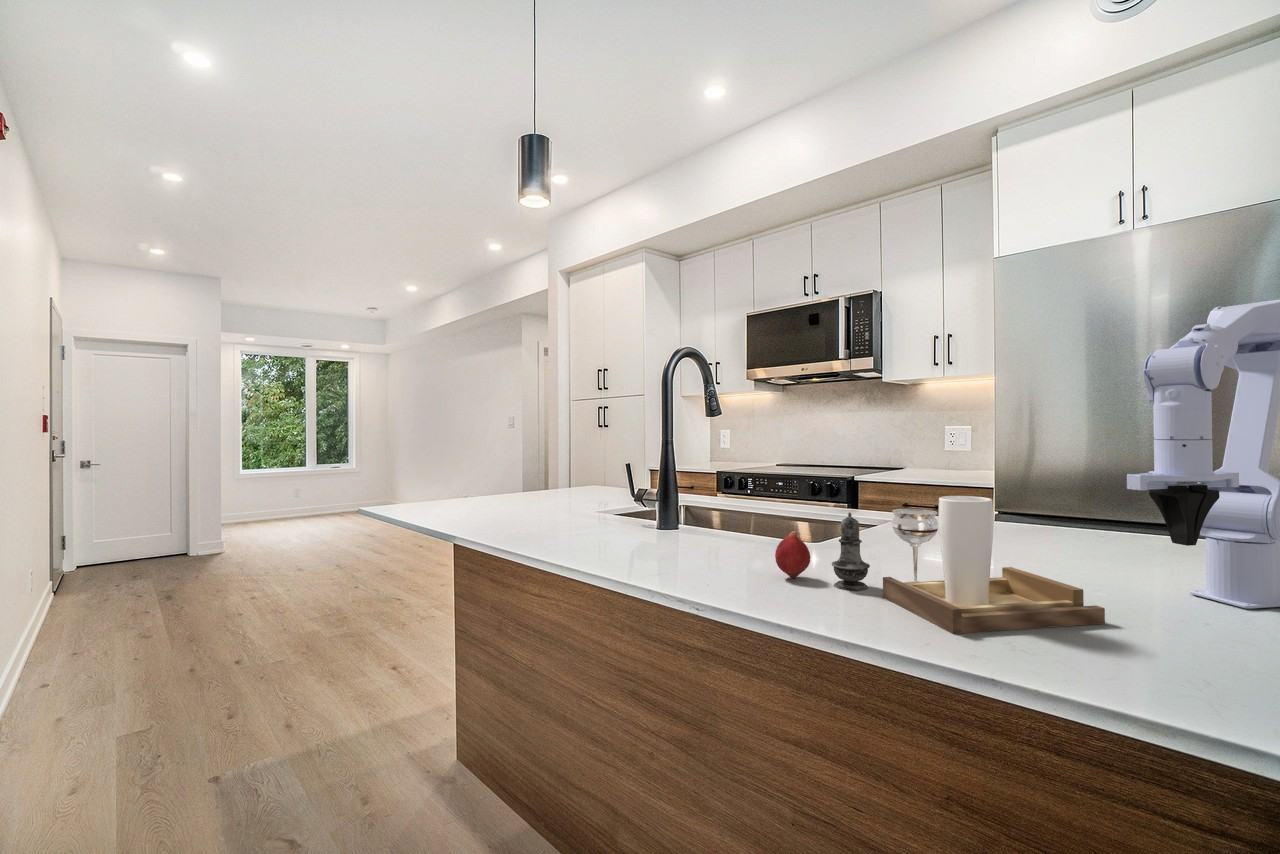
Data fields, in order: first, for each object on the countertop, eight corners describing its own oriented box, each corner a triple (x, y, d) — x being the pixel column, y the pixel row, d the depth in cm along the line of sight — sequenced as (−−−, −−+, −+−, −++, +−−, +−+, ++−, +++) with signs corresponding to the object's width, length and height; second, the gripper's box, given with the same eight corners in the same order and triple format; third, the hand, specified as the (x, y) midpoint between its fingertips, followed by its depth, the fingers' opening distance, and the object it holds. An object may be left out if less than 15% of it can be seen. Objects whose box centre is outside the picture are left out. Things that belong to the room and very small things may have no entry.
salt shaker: (871, 583, 101) (870, 510, 101) (868, 592, 96) (867, 515, 96) (834, 580, 103) (833, 509, 103) (829, 589, 98) (828, 513, 98)
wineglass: (898, 579, 104) (897, 507, 104) (942, 584, 100) (941, 510, 100) (888, 588, 98) (886, 512, 98) (934, 594, 94) (933, 515, 94)
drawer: (1011, 593, 94) (1011, 567, 94) (1083, 619, 81) (1083, 589, 81) (901, 599, 92) (900, 572, 92) (957, 628, 79) (956, 596, 79)
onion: (776, 581, 103) (775, 534, 103) (774, 573, 109) (773, 528, 109) (812, 582, 102) (811, 534, 102) (808, 574, 108) (807, 528, 108)
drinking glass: (1002, 614, 82) (1001, 501, 82) (948, 612, 83) (946, 501, 83) (984, 600, 89) (982, 495, 89) (934, 598, 90) (932, 495, 90)
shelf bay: (1011, 589, 96) (1010, 570, 96) (1104, 623, 80) (1104, 600, 80) (883, 597, 93) (882, 577, 93) (952, 633, 77) (952, 609, 77)
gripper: (1199, 437, 85) (1200, 536, 85) (1105, 440, 83) (1107, 540, 83) (1256, 438, 78) (1258, 546, 78) (1155, 441, 76) (1157, 551, 76)
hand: (1183, 544), depth 80 cm, fingers closed
